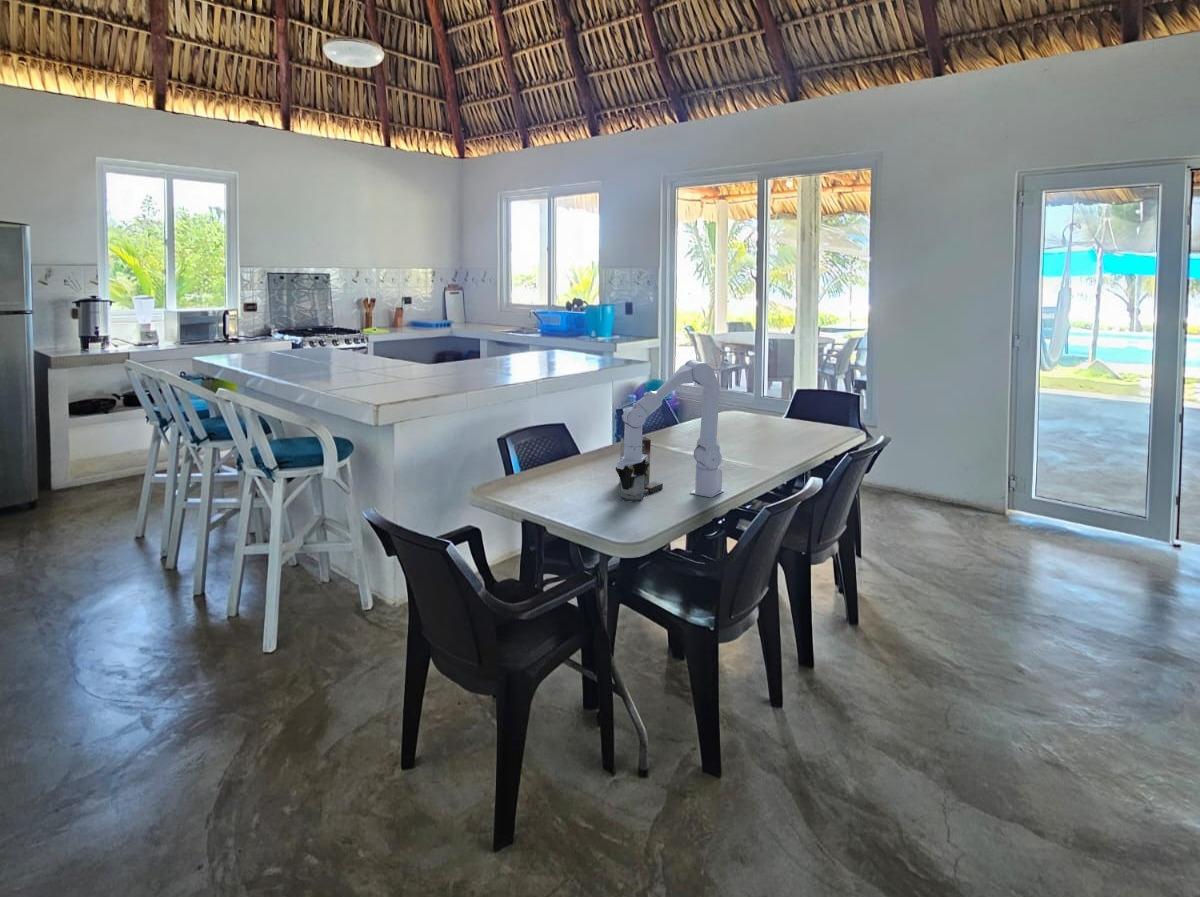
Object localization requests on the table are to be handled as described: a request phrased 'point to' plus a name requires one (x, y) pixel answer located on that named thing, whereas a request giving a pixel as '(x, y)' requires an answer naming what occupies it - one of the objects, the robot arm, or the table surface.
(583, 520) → the table surface
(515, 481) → the table surface
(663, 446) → the table surface
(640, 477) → the grey brushed cube
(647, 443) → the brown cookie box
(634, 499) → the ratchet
